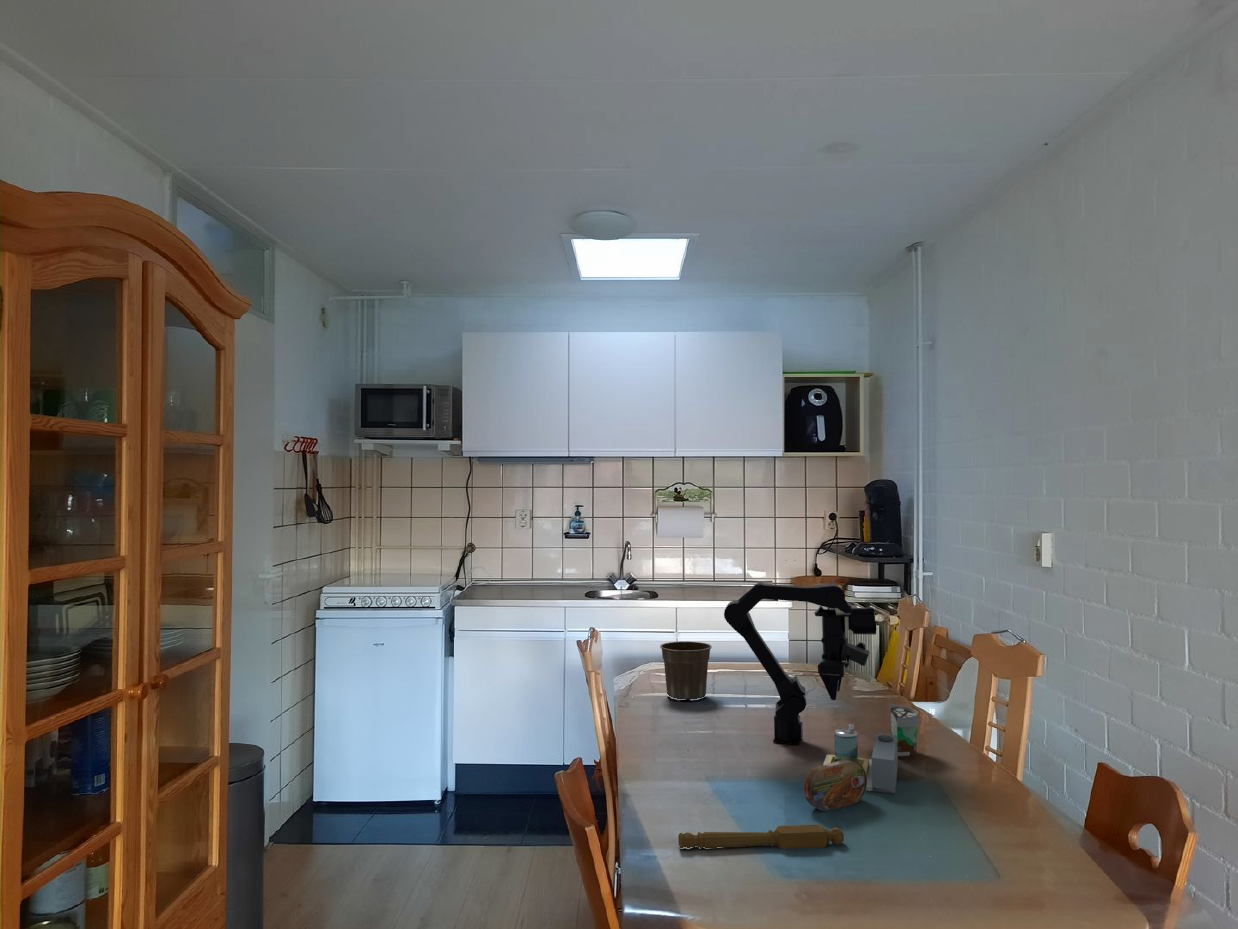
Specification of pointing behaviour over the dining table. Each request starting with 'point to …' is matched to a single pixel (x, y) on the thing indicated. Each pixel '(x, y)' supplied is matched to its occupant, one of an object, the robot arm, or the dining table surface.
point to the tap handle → (766, 838)
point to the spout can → (846, 744)
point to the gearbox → (879, 764)
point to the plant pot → (686, 668)
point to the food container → (904, 730)
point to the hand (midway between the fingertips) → (835, 695)
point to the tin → (835, 785)
